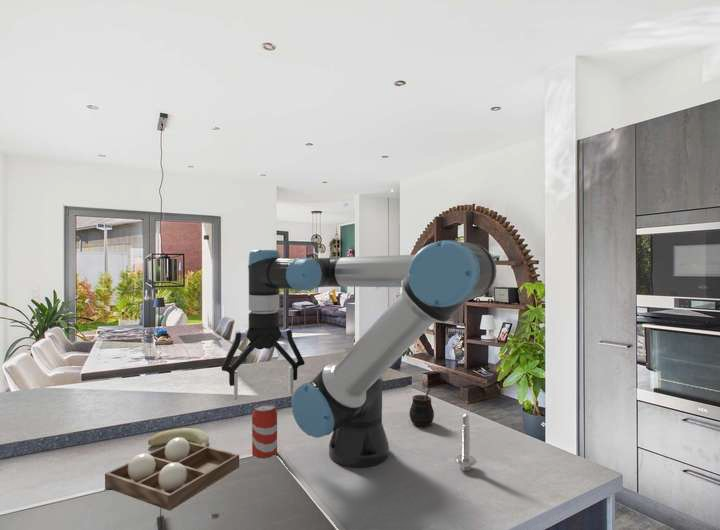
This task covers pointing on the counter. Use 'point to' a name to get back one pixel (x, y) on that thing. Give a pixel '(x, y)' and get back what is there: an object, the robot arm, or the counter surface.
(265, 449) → the beverage can
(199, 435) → the fruit
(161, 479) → the egg
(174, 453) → the egg
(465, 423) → the screw
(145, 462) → the egg
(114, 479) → the crate
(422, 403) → the mate gourd
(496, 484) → the counter surface
